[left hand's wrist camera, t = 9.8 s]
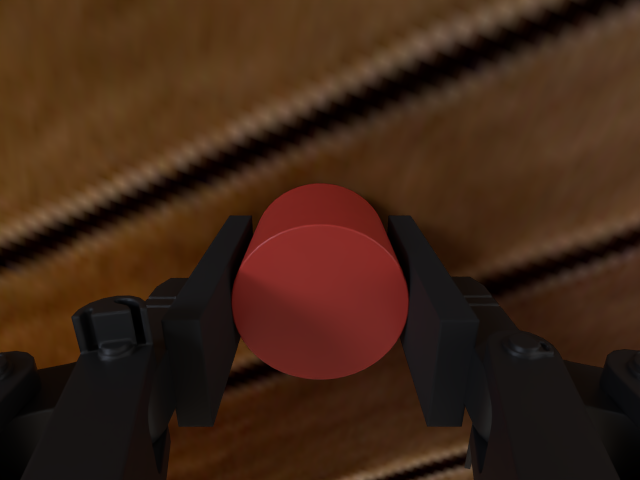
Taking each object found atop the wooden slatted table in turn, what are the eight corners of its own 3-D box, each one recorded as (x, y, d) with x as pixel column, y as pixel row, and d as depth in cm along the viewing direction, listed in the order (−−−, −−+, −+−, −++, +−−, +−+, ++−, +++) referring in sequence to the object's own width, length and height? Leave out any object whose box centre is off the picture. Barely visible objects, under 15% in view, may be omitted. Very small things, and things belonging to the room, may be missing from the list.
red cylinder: (234, 273, 15) (204, 340, 11) (289, 158, 13) (277, 191, 10) (346, 322, 16) (354, 402, 12) (410, 220, 14) (444, 273, 10)
